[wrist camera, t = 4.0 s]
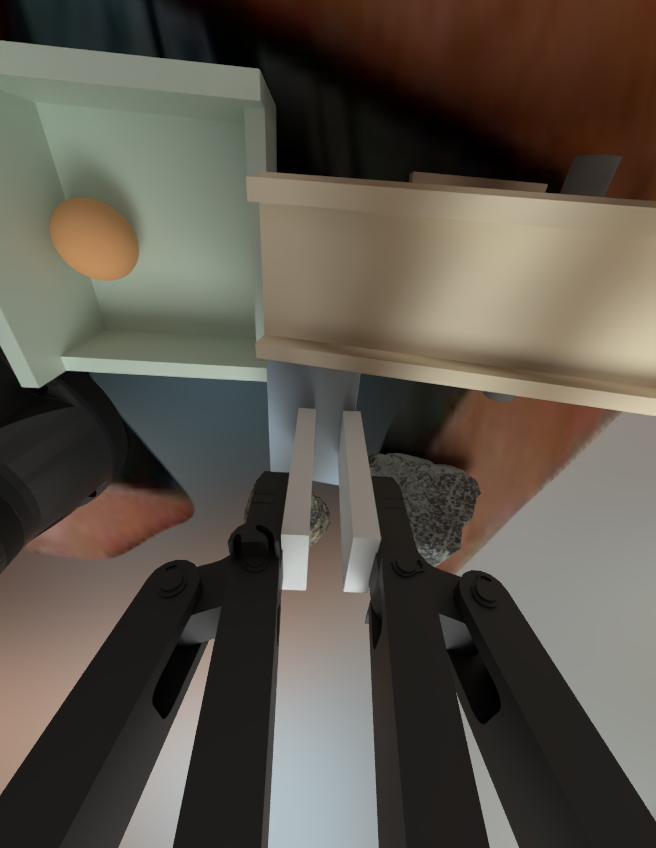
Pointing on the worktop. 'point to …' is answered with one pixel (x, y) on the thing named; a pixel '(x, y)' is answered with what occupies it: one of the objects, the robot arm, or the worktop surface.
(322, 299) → the lever
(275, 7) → the worktop surface
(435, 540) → the stone
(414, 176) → the fulcrum
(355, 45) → the worktop surface
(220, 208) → the bin
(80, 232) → the brown egg
